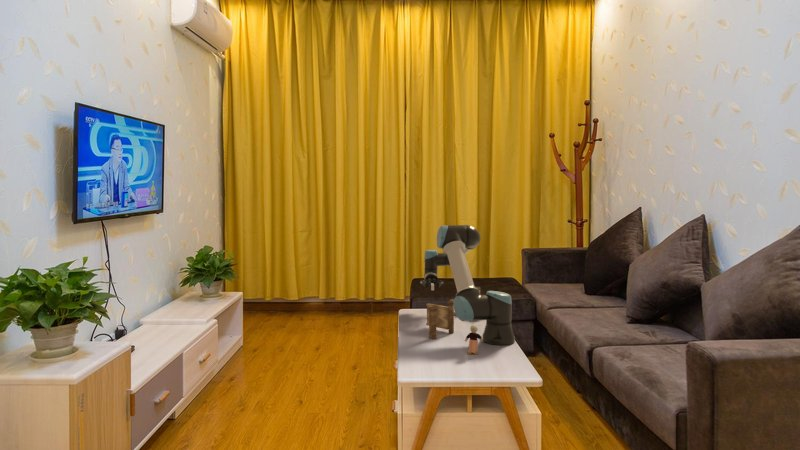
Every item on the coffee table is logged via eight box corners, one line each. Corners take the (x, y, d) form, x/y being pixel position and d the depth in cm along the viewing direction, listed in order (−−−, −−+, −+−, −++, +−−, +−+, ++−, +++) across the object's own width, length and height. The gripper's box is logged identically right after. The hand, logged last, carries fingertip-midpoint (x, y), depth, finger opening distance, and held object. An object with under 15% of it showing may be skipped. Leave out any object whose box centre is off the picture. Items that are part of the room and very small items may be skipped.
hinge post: (455, 333, 259) (455, 299, 258) (450, 334, 258) (450, 300, 256) (451, 331, 262) (452, 298, 260) (446, 332, 260) (447, 299, 259)
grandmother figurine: (465, 354, 225) (465, 326, 224) (464, 352, 229) (464, 323, 228) (483, 354, 225) (483, 326, 224) (481, 352, 229) (482, 323, 228)
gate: (449, 329, 261) (449, 307, 260) (447, 329, 260) (447, 307, 259) (428, 324, 270) (428, 303, 269) (426, 325, 269) (426, 303, 268)
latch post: (437, 338, 250) (437, 307, 249) (432, 339, 248) (432, 308, 247) (433, 337, 252) (433, 306, 251) (428, 338, 250) (428, 307, 249)
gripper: (442, 286, 295) (445, 295, 271) (419, 286, 295) (420, 294, 271) (442, 273, 294) (445, 280, 270) (419, 273, 294) (420, 280, 271)
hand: (432, 287), depth 271 cm, fingers closed
